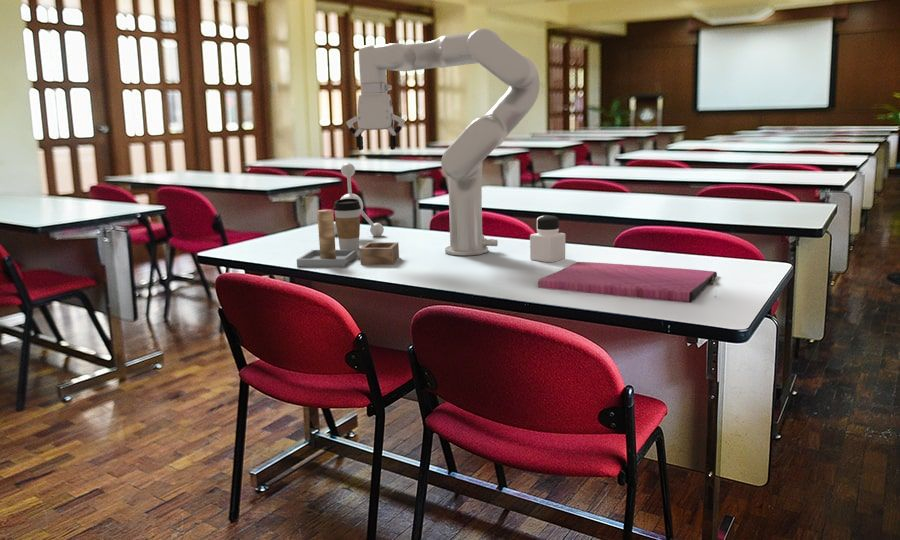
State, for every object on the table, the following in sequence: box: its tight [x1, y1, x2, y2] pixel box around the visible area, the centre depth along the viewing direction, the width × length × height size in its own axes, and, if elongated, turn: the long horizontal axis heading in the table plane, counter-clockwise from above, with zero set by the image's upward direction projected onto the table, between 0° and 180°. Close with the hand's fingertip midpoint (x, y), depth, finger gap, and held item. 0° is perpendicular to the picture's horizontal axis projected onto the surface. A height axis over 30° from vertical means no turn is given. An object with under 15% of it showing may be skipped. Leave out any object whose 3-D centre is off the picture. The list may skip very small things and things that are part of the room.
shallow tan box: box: [359, 241, 400, 265], centre depth 218 cm, size 9×9×4 cm
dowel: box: [316, 209, 337, 259], centre depth 218 cm, size 4×4×14 cm
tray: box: [296, 249, 358, 268], centre depth 219 cm, size 14×14×2 cm
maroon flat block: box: [537, 261, 718, 303], centre depth 185 cm, size 40×4×27 cm
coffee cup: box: [332, 198, 361, 250], centre depth 236 cm, size 8×8×15 cm
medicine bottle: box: [529, 215, 566, 263], centre depth 213 cm, size 7×7×12 cm
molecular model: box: [334, 162, 384, 237], centre depth 252 cm, size 18×20×25 cm
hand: (376, 149), depth 227 cm, fingers open, 9 cm apart
